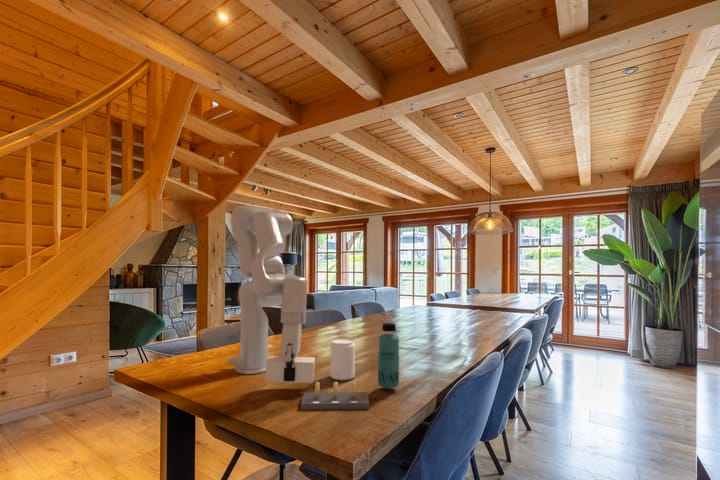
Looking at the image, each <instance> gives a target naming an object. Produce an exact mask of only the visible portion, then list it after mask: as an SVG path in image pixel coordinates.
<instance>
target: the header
mask: <svg viewBox="0 0 720 480" xmlns="http://www.w3.org/2000/svg"><path fill="white" fill-rule="evenodd" d="M314 383H315V384H314V392H303V395H302V397H301V398H302V399H301V402H300V411H307V410H308V411H313V410H315V411H316V410H317V411H319V410H321V411H324V410H327V411H328V410H369V409H370V400H369V395H368V391H358V392H357V383H356V382H355V381H352V382H351V391H350V392H348V391H347V392H345V391H344V392H343V391H342V392H339V391H338V389H339V382H338V381H334V382H333V389H332V390H333V391H332V392H320V388H321V387H320V384H321V383H320V382H318V381H316V382H314Z"/></svg>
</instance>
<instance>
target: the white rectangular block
mask: <svg viewBox="0 0 720 480" xmlns="http://www.w3.org/2000/svg"><path fill="white" fill-rule="evenodd" d="M291 360H292V361H293V359H291ZM292 363H293V362H292ZM315 364H316V357H315V356H312V357H311V356H298V357H296V358H295V365H294V367H295V380H294V381H284V367H285V356H284V357H283V358H282V357H281V356H280V355H279V356H278V355H277V356H276V355H273V356H272V355H270V356H268V357H267V361H266V372H265V378H264V379H265V382H266V383H298V384H299V383H300V384H301V383H303V384H304V383H305V384H313V383H314V379H315V369H316V366H315Z"/></svg>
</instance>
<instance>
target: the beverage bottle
mask: <svg viewBox="0 0 720 480" xmlns="http://www.w3.org/2000/svg"><path fill="white" fill-rule="evenodd" d="M396 327H397V326H396V323H393V322H384V323H383V324H382V331H383V332H385V333H382V334H381V335H379V337H378V355H377V356H378V362H377V365H378V366H377V373H378V374H377V375H378V376H377V383H378V386H379V387H381V388H383V389H394V388H397V387H398V386H399V384H400V338H399V336H397V334H394V333H386V332H396V331H397V328H396Z"/></svg>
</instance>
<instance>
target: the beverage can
mask: <svg viewBox="0 0 720 480" xmlns="http://www.w3.org/2000/svg"><path fill="white" fill-rule="evenodd" d="M355 351H356V346H355V343H354V340H352V339H348V338H338V339H332V341H331V344H330V378H332V379H333V380H336V381H342V382H343V381H349V380H351V379H354V378H355V375H356V373H355V367H356V366H355V365H356V364H355V362H356V361H355V360H356V359H355V358H356V357H355V356H356V353H355Z"/></svg>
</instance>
